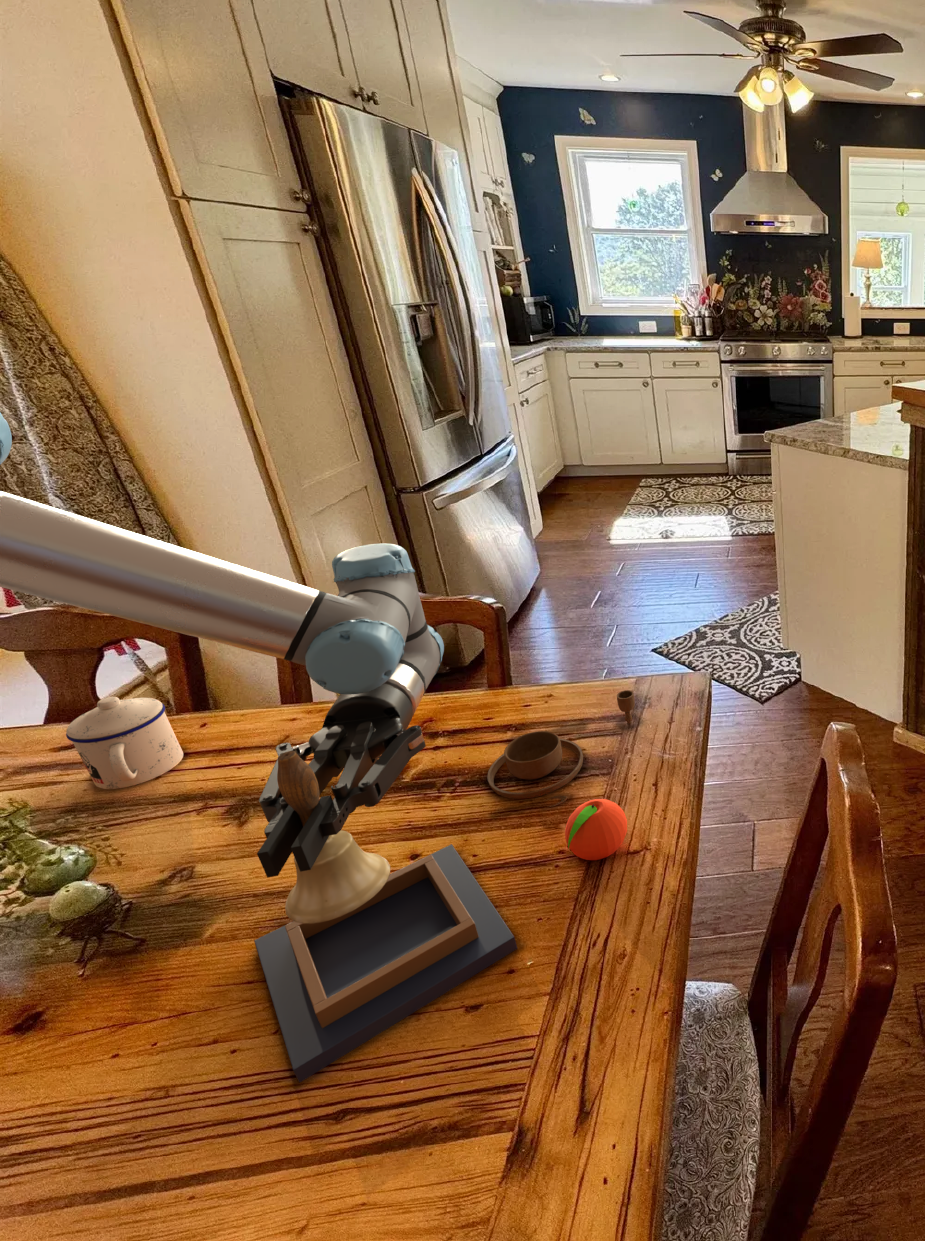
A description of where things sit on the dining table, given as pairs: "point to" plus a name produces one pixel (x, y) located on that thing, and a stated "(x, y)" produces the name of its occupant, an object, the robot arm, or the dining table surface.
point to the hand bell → (326, 857)
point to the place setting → (544, 756)
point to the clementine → (596, 829)
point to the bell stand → (380, 959)
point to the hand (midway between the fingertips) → (284, 861)
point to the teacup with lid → (125, 741)
